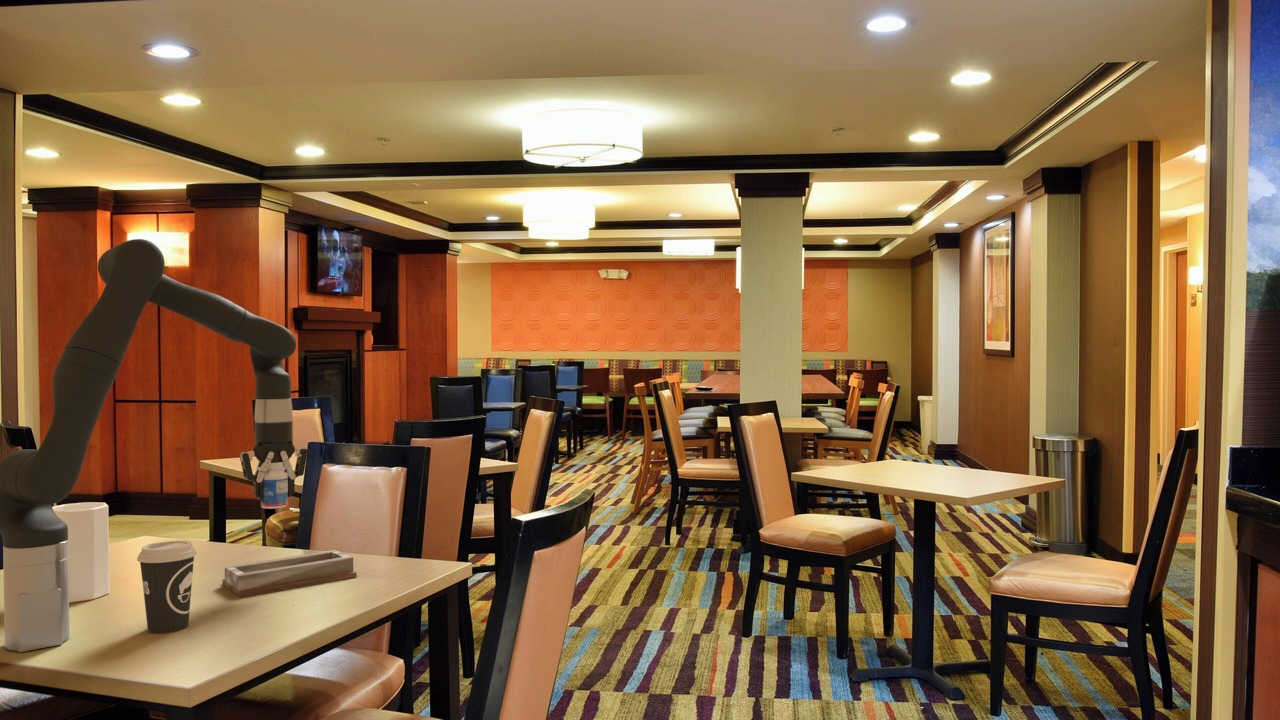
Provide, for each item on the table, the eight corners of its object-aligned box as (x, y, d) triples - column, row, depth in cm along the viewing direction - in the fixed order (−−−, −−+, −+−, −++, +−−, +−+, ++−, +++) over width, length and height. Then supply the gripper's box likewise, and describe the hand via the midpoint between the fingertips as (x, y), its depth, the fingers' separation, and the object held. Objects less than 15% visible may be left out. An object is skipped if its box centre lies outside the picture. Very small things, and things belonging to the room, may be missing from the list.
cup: (36, 606, 173) (35, 512, 173) (58, 591, 184) (56, 503, 184) (100, 601, 176) (99, 509, 176) (117, 587, 187) (116, 500, 187)
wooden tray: (356, 577, 193) (356, 558, 193) (241, 597, 178) (241, 577, 178) (332, 565, 204) (332, 548, 204) (222, 583, 188) (222, 565, 188)
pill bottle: (255, 508, 188) (254, 462, 188) (276, 504, 192) (275, 459, 192) (272, 509, 185) (272, 463, 185) (293, 505, 190) (293, 461, 190)
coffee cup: (184, 616, 165) (183, 537, 165) (207, 626, 159) (206, 543, 159) (129, 629, 158) (128, 546, 157) (151, 639, 152) (150, 553, 151)
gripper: (243, 422, 181) (244, 504, 181) (313, 418, 190) (314, 496, 190) (233, 420, 187) (234, 499, 187) (301, 417, 196) (302, 492, 196)
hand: (274, 497), depth 189 cm, fingers closed on pill bottle, 5 cm apart
